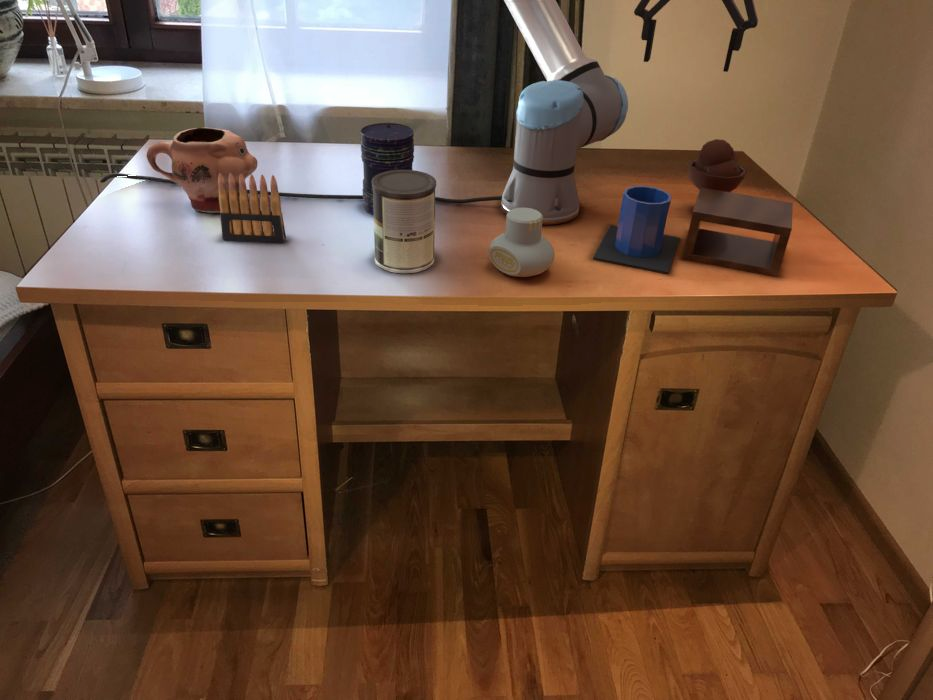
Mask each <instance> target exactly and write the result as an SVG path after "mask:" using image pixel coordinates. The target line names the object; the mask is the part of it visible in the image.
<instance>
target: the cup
mask: <svg viewBox="0 0 933 700" xmlns="http://www.w3.org/2000/svg"><path fill="white" fill-rule="evenodd" d="M672 198H673V196H672V195H671V194H670V193H669V192H668V191H666V190H664V189H661V188H658V187H654V186H648V185H634V186H631V187H627V188H625V189H624V191H623V193H622V200H621V205H620V211H619V217H618V223H617V226H618V229H617V235H616V241H615V247H616V248H617V249H618V251H620V252H622V253H624V254H626V255H629V256H634V257H639V258H646V257H654V256H656V255H658V254H660V251H661V248H662V243H663V238H664V235H665V232H666V228H667V223H668V217H669V213H670V208H671V204H672Z"/></svg>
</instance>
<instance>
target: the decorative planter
mask: <svg viewBox="0 0 933 700" xmlns="http://www.w3.org/2000/svg"><path fill="white" fill-rule="evenodd" d="M246 144H247V143H246V141H245V140H244V138H243V137H241V136H239V135H237V134H235V133H234V132H232V131H231V130H228V129H222V128H221V129H220V128H213V127H192V128H188V129H185V130H181V131H179V132H178V133H176V134H175V135H174V137H173V139H172V141H161V142H160V141H159V142H155V143H153V144H152V145H150V146H149V147H148V148H147V151H146V160H147V162H148V165H150V167H151V169H153V170H154V171H155V172H157V173H159V174H161V175H163V176H164V177H165V178H166V179H170V180H172V181H173V182H175V183H177V184H176V185H178V186H180V187H181V188H182V189H183V190H184V192H185V193H186V195H187V198H188V199H189V202H190V205H191V207H192V209H193V210H195V211H197V212H201V213H202V212H204V213H221V210H220V203H219V187H218V176H219V173H221V174H222V176H223V178H224V181H225V185H226V190H227V194H228V197H229V184H228V180H229V174H230V173H231V174H232V175H233V177H234V180H235V184H236V189H237V194H238V197H239V196H240V193H239V176H240V174H242V175H243V177H244V179H245V180H246V179H247V178H248V177H250V175H251V174H252V175H253V173H255V171H256V170H257V168H258V165H259V164H258V163H259V162H258V159H257V157H255V156H254V155H252V154H251V153H250V152H249V150H248V148H247V145H246ZM159 154H166V155H167V156H168V157H169V158H170V159H171V172H168V171H165V170H164V169H162V168H160V167H159V165H158V164H157V162H156V160H157V159H156V158H157V156H158V155H159ZM239 202H240V201H239ZM229 203H230V202H229Z"/></svg>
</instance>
